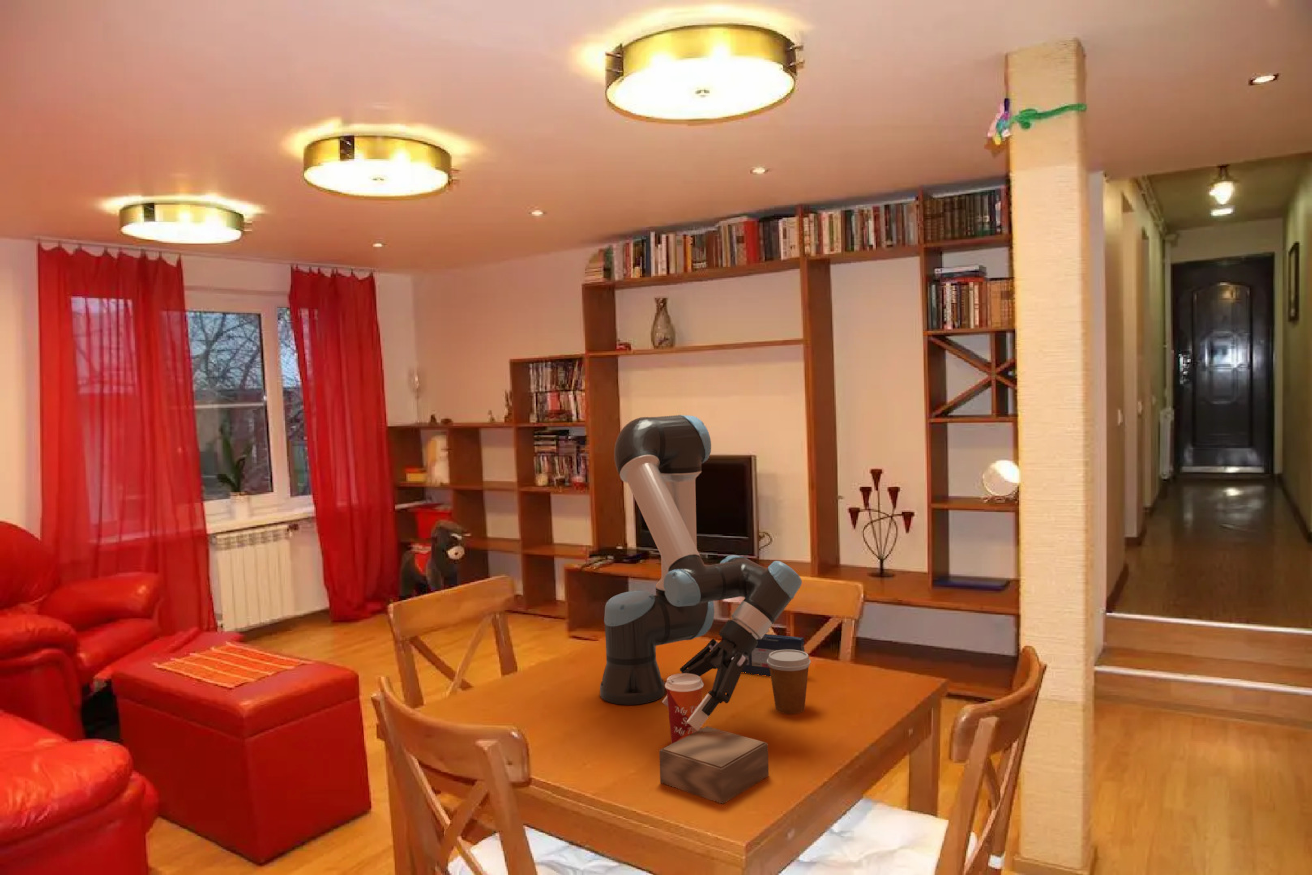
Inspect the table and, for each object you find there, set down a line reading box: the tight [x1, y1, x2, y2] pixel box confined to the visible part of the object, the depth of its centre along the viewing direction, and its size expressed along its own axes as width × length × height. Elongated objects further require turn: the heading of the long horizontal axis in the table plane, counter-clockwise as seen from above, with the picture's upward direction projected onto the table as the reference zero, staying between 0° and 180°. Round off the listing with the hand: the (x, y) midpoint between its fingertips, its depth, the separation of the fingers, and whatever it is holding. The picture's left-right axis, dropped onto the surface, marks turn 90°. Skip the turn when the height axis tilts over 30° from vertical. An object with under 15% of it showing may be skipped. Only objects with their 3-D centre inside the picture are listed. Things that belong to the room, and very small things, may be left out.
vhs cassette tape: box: [742, 633, 805, 677], centre depth 219 cm, size 18×3×10 cm, turn 61°
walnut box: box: [658, 725, 769, 805], centre depth 161 cm, size 14×14×6 cm
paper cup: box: [664, 672, 705, 744], centre depth 176 cm, size 8×8×14 cm
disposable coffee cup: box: [767, 650, 811, 715], centre depth 195 cm, size 10×10×12 cm
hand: (678, 716), depth 174 cm, fingers open, 13 cm apart
